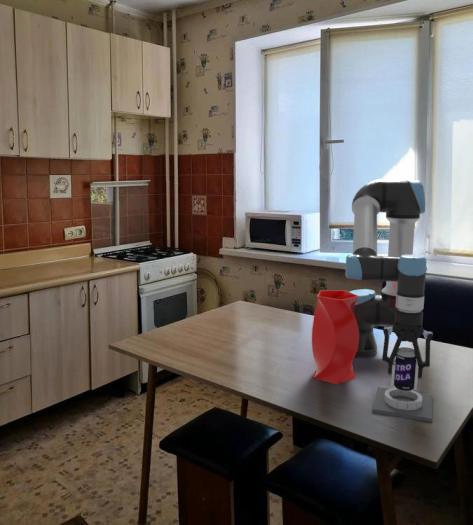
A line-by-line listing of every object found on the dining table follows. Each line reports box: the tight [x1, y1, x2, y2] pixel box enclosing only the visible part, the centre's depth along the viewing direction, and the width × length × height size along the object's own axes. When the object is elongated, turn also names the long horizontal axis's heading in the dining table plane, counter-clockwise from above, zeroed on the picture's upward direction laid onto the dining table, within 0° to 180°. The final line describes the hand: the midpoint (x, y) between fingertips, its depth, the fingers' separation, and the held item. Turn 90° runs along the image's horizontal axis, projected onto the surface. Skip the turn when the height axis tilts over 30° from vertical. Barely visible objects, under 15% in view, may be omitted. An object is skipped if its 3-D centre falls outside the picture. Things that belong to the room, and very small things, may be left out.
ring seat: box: [371, 386, 433, 423], centre depth 149 cm, size 16×16×3 cm
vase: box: [311, 289, 359, 385], centre depth 168 cm, size 15×14×28 cm
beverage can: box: [394, 347, 417, 392], centre depth 147 cm, size 6×6×12 cm
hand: (404, 386), depth 148 cm, fingers closed on beverage can, 6 cm apart
